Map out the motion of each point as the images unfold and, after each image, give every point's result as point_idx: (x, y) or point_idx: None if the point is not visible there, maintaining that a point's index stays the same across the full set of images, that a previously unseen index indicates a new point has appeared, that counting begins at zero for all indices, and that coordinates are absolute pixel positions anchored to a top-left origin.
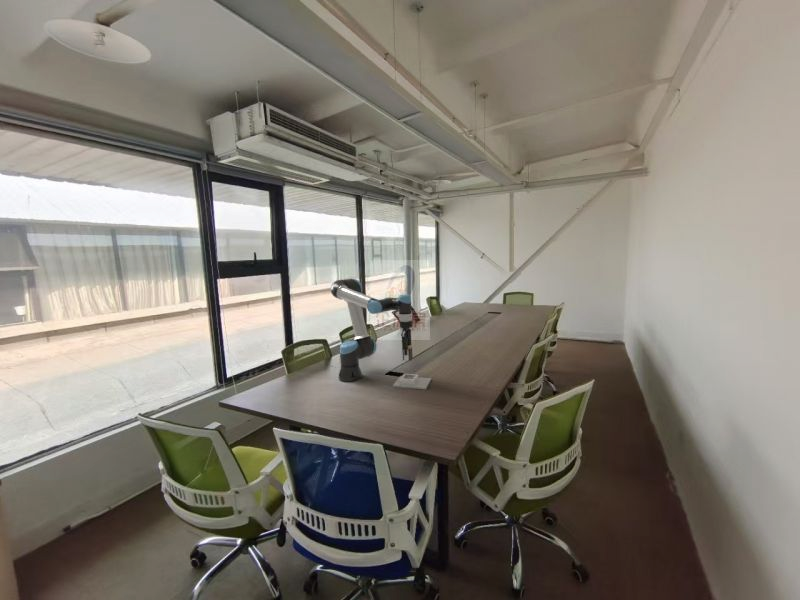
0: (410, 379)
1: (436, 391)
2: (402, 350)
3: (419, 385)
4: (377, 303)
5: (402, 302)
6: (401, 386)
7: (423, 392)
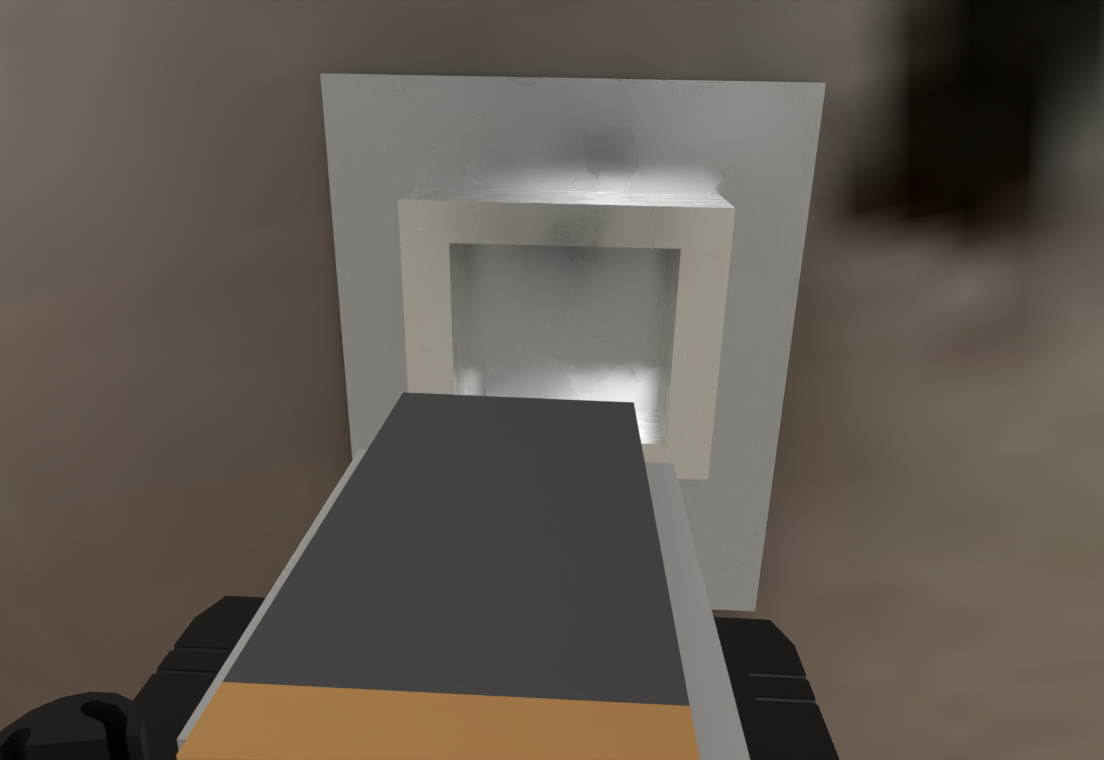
0: None
1: None
2: (278, 601)
3: None
4: None
5: None
6: (335, 239)
7: (277, 563)
